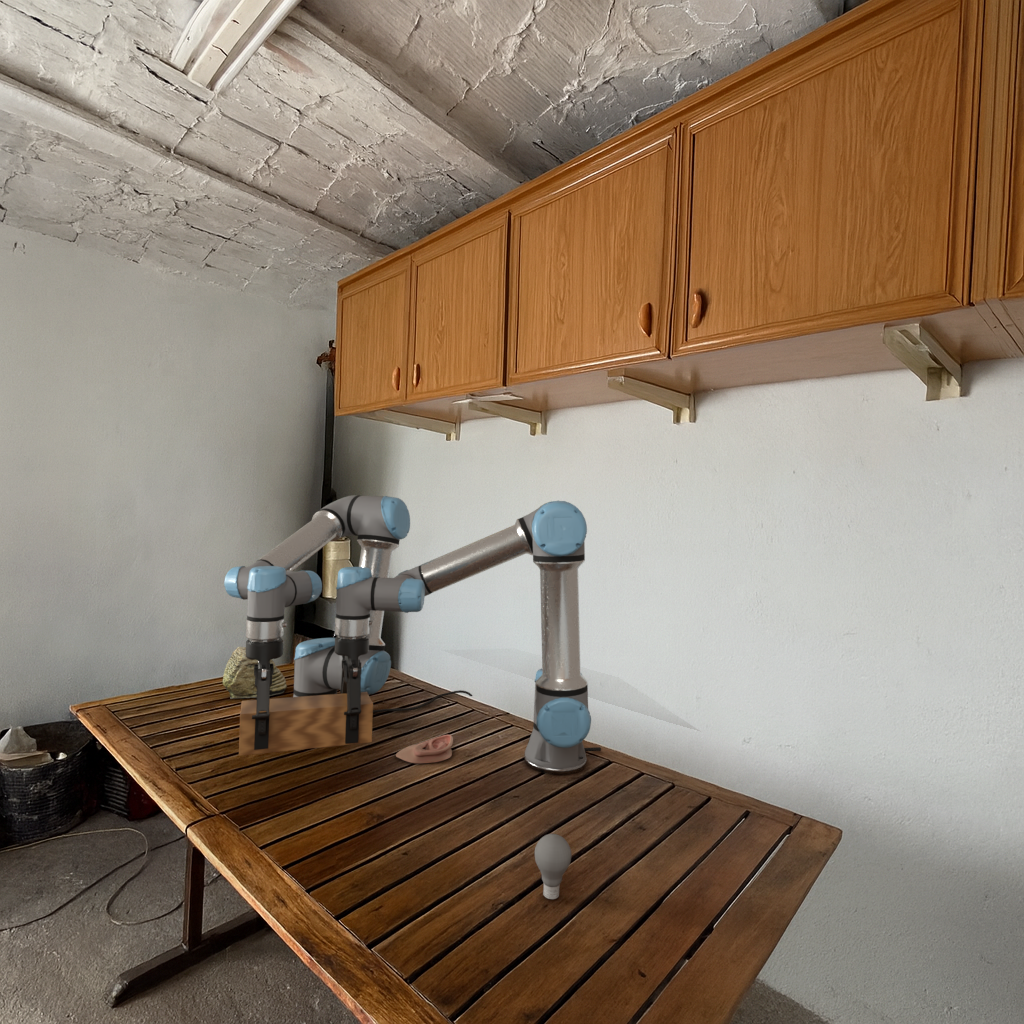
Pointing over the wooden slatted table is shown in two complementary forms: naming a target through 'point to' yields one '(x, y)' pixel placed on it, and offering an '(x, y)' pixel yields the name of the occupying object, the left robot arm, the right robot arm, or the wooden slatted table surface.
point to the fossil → (247, 676)
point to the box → (304, 723)
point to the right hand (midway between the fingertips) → (348, 734)
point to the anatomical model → (428, 750)
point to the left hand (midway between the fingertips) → (261, 736)
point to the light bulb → (552, 862)
